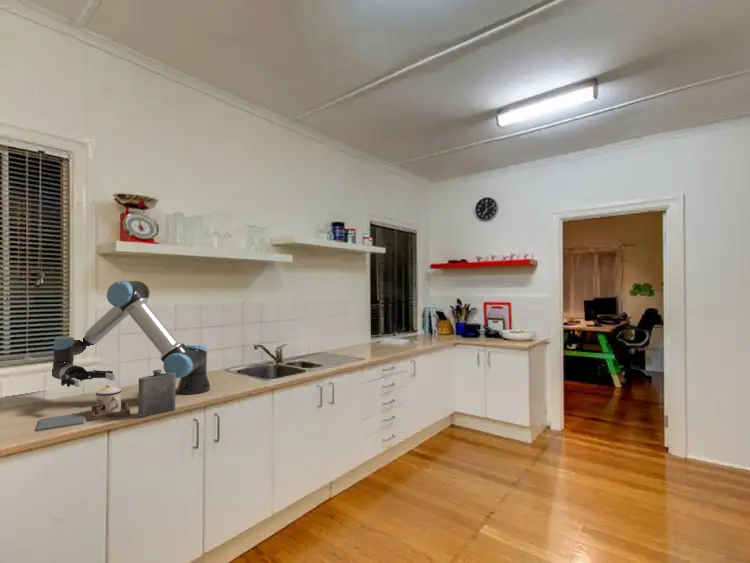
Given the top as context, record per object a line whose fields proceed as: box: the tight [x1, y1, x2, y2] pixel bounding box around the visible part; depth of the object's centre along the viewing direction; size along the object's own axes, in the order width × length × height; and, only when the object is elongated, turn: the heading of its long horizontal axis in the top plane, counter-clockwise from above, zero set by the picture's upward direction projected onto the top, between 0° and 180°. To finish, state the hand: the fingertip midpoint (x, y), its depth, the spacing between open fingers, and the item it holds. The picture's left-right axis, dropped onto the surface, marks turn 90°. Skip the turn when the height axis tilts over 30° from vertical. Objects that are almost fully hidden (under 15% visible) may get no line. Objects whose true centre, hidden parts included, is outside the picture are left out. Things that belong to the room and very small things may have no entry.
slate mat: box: [36, 412, 85, 432], centre depth 157 cm, size 14×14×1 cm
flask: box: [137, 369, 177, 419], centre depth 169 cm, size 4×14×18 cm, turn 139°
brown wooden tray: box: [91, 400, 131, 422], centre depth 169 cm, size 13×16×2 cm
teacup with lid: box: [95, 383, 123, 415], centre depth 169 cm, size 12×9×12 cm
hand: (97, 380), depth 174 cm, fingers open, 13 cm apart
